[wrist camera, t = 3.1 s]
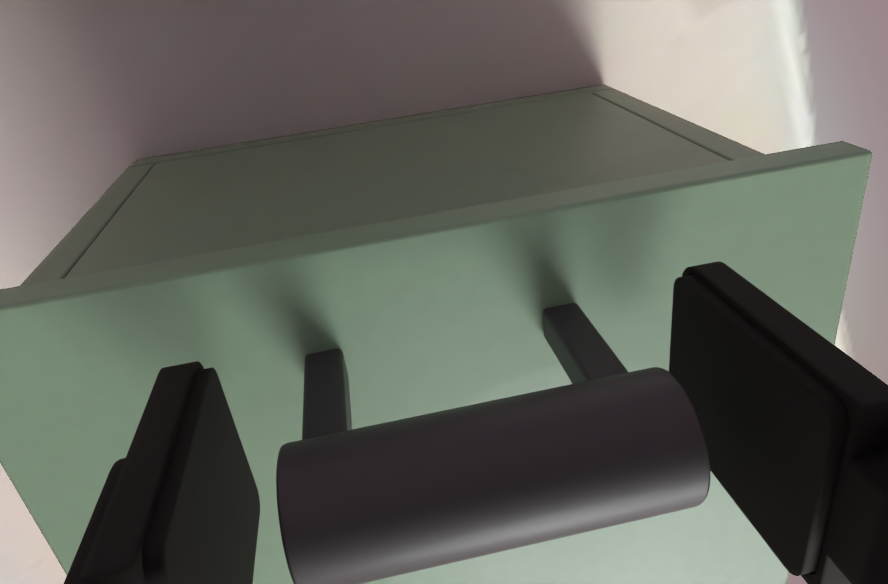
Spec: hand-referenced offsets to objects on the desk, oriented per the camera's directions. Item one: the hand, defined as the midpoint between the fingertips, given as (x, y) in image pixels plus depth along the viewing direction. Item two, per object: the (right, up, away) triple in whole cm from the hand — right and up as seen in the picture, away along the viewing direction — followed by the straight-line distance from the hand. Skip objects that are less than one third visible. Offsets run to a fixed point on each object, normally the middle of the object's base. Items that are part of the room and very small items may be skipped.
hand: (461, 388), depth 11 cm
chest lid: (0, -3, +4) cm, 6 cm away
